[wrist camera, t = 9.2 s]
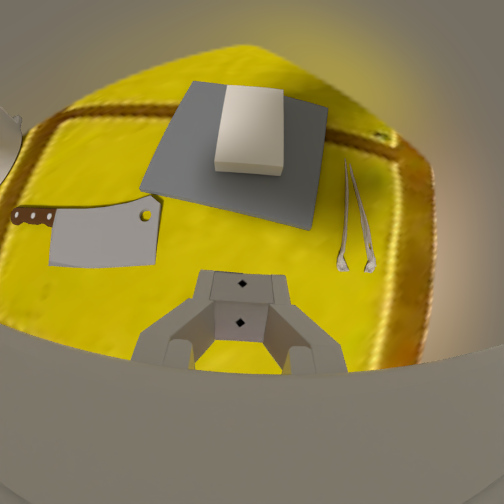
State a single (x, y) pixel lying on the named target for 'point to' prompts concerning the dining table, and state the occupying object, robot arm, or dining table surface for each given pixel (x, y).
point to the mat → (231, 183)
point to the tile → (251, 131)
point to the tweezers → (366, 231)
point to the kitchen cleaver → (98, 234)
